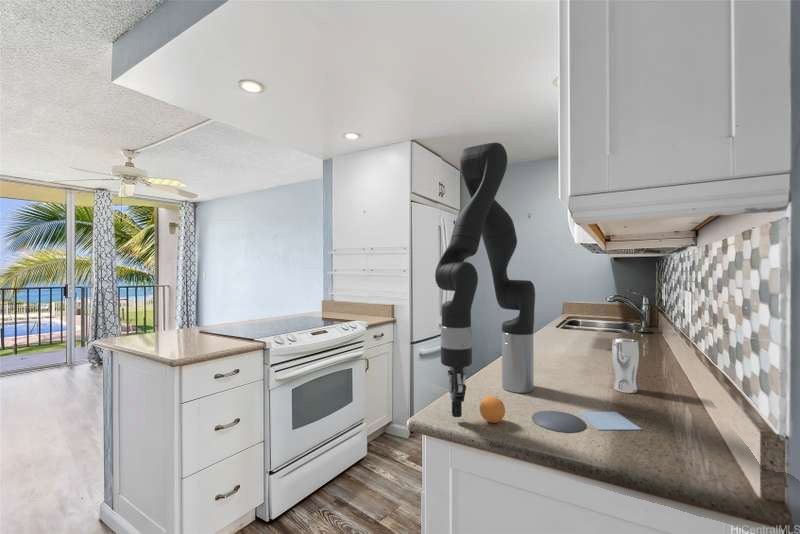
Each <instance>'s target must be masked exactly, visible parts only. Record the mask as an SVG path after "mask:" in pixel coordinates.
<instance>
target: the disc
mask: <svg viewBox="0 0 800 534" xmlns="http://www.w3.org/2000/svg"><path fill="white" fill-rule="evenodd" d="M531 419H532V421H533V423H535V424H536V425H537V426H539V427H541V428H544V429H546V430H550V431H554V432H559V433H578V432H581V431H584V430H586V427H587V424H586V422H585V420H583V419H582V418H580V417H579V416H577V415H574V414H571V413H569V412H568V413H567V412H563V411H558V410H540V411H536V412H534V413H533V414H532V415H531Z"/></svg>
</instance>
